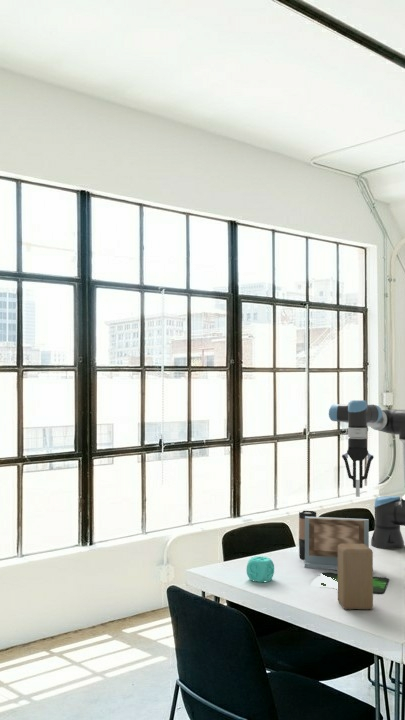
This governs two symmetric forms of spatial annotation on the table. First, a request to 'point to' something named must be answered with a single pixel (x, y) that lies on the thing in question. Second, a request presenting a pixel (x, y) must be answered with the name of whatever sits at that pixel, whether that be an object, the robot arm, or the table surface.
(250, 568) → the decorative dice
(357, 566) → the wooden block
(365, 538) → the grey board
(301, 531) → the travel mug
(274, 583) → the table surface
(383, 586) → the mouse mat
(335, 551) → the walnut frame
